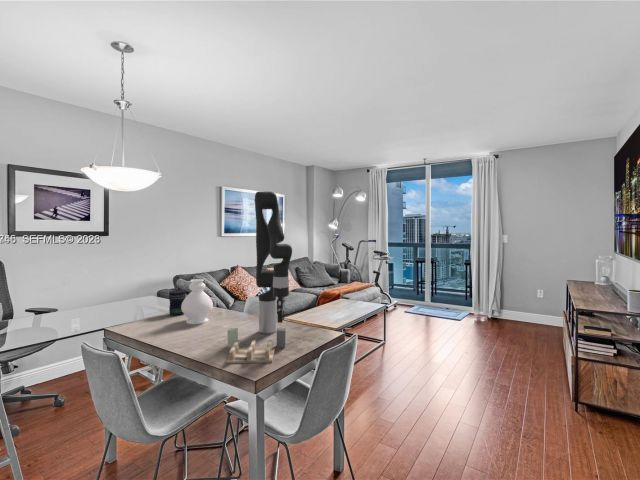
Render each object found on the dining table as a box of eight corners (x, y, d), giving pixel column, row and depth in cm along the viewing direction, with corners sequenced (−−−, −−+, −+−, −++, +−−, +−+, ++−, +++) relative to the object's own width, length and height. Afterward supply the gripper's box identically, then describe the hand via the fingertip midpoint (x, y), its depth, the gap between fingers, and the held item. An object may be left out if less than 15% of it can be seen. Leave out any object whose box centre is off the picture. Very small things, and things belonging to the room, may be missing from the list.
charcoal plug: (277, 344, 162) (277, 328, 162) (285, 344, 162) (285, 328, 162) (276, 347, 158) (276, 330, 158) (285, 347, 158) (285, 330, 158)
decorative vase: (188, 317, 211) (188, 277, 210) (216, 317, 211) (216, 277, 210) (176, 325, 193) (175, 282, 192) (207, 325, 193) (207, 282, 192)
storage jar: (187, 314, 216) (186, 291, 216) (170, 316, 211) (170, 293, 210) (184, 311, 225) (183, 289, 224) (168, 313, 219) (167, 290, 219)
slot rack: (233, 350, 155) (233, 340, 155) (275, 349, 156) (275, 339, 155) (225, 363, 140) (225, 352, 140) (271, 362, 141) (271, 352, 140)
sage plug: (229, 344, 162) (229, 328, 162) (237, 344, 162) (237, 328, 162) (227, 347, 158) (227, 330, 158) (236, 347, 158) (236, 330, 158)
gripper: (274, 283, 166) (274, 316, 166) (271, 288, 152) (271, 324, 152) (289, 283, 166) (289, 316, 167) (288, 288, 152) (287, 324, 152)
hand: (280, 320), depth 159 cm, fingers open, 8 cm apart
